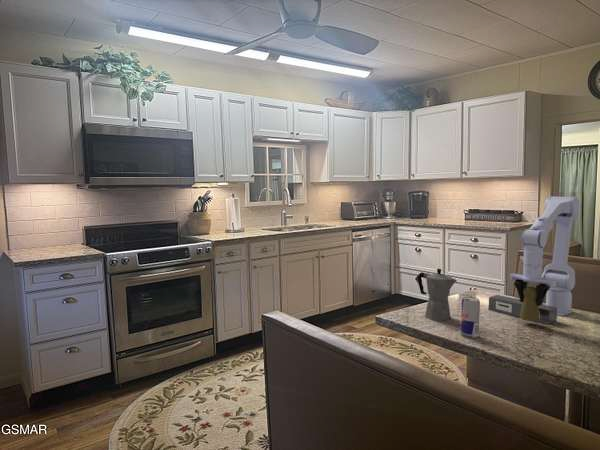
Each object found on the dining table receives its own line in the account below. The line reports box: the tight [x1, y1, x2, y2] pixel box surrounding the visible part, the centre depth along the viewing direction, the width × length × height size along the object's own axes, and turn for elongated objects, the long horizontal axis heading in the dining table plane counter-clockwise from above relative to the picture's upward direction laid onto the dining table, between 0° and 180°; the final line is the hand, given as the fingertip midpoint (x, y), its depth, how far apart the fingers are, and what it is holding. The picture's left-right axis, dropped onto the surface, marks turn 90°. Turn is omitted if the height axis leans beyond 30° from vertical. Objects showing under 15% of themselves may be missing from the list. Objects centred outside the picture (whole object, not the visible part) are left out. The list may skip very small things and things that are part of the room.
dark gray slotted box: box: [488, 294, 558, 325], centre depth 155 cm, size 6×22×5 cm, turn 36°
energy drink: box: [460, 296, 481, 339], centre depth 133 cm, size 5×5×12 cm
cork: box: [519, 286, 539, 322], centre depth 144 cm, size 6×6×11 cm
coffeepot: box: [416, 268, 457, 322], centre depth 153 cm, size 15×9×18 cm, turn 44°
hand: (530, 303), depth 144 cm, fingers closed on cork, 5 cm apart
